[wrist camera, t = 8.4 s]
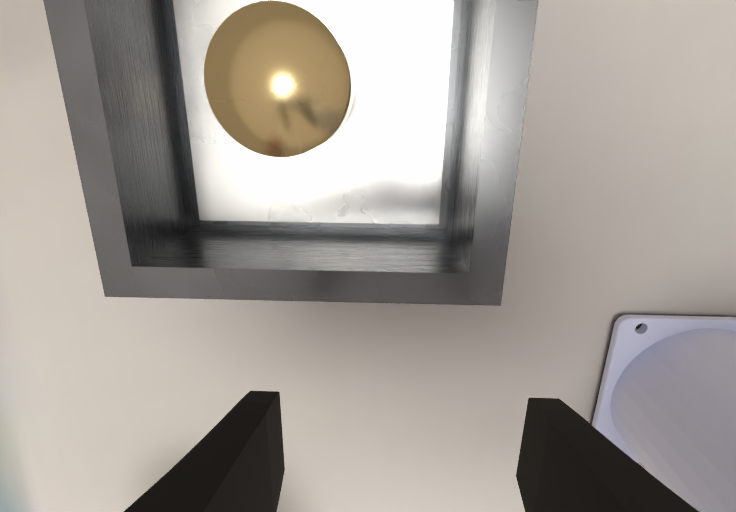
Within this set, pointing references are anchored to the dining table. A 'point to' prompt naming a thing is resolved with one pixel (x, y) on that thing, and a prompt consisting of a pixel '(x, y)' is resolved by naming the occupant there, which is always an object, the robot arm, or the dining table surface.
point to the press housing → (283, 239)
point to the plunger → (316, 108)
